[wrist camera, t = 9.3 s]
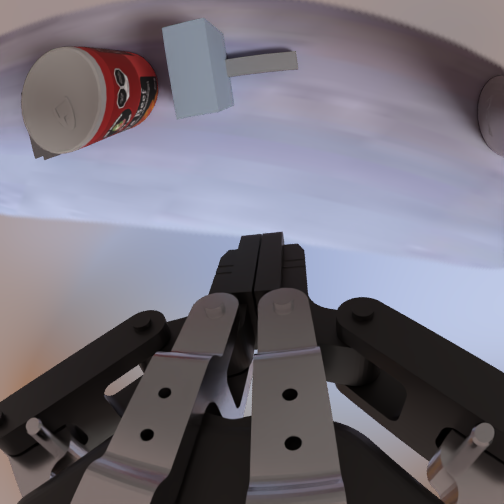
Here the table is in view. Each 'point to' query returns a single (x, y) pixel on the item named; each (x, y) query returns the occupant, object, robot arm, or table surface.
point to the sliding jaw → (209, 67)
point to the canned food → (86, 96)
